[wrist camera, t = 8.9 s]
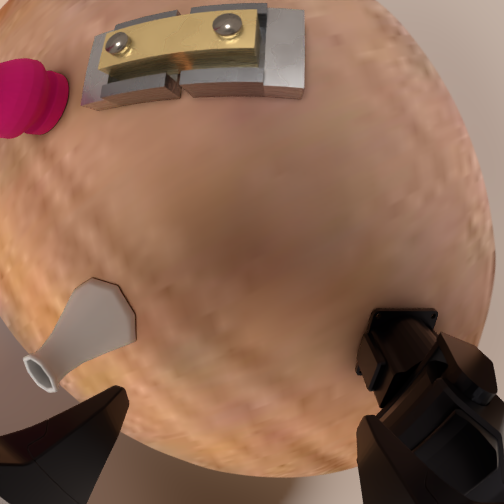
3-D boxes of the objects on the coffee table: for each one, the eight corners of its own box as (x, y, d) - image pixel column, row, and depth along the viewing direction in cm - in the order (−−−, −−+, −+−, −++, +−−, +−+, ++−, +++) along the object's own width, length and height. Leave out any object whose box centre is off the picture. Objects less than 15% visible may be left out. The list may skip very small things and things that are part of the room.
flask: (67, 279, 21) (-6, 325, 12) (124, 273, 21) (44, 333, 11) (91, 344, 23) (36, 402, 14) (148, 347, 22) (95, 424, 13)
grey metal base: (301, 26, 14) (304, 5, 11) (300, 99, 16) (305, 84, 13) (109, 45, 15) (91, 33, 12) (98, 110, 17) (75, 104, 14)
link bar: (123, 82, 15) (92, 67, 11) (129, 49, 15) (102, 30, 11) (258, 70, 15) (253, 43, 11) (260, 35, 14) (256, 4, 10)
